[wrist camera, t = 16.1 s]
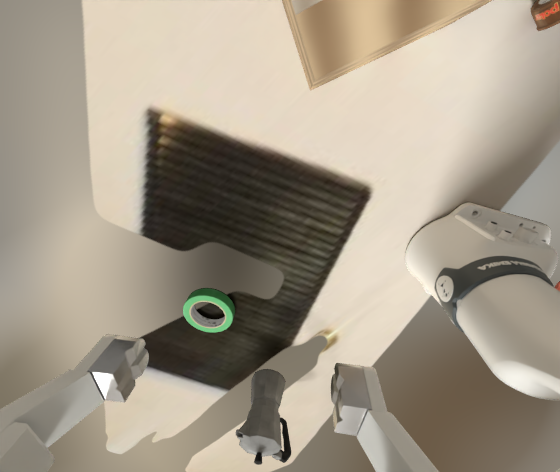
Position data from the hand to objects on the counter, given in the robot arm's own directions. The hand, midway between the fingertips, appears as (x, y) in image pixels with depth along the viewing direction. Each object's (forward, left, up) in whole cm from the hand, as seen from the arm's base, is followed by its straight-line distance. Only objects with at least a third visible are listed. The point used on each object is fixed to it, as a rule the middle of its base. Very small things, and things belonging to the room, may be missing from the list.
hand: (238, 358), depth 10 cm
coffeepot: (0, +57, -34) cm, 66 cm away
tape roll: (+15, +32, -34) cm, 49 cm away
